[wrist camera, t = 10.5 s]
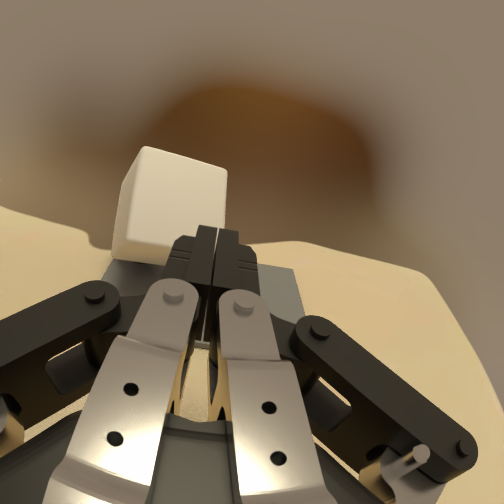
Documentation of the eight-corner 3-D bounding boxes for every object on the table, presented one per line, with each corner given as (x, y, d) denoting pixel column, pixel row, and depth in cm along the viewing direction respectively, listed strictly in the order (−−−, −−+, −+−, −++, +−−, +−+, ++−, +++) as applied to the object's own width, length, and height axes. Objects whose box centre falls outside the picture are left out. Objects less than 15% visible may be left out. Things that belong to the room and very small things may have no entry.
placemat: (80, 322, 20) (79, 317, 20) (125, 245, 31) (125, 240, 31) (312, 359, 23) (315, 355, 23) (291, 273, 34) (292, 269, 34)
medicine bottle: (143, 143, 18) (113, 198, 27) (126, 242, 16) (103, 265, 26) (229, 168, 22) (173, 210, 32) (225, 257, 21) (168, 273, 30)
